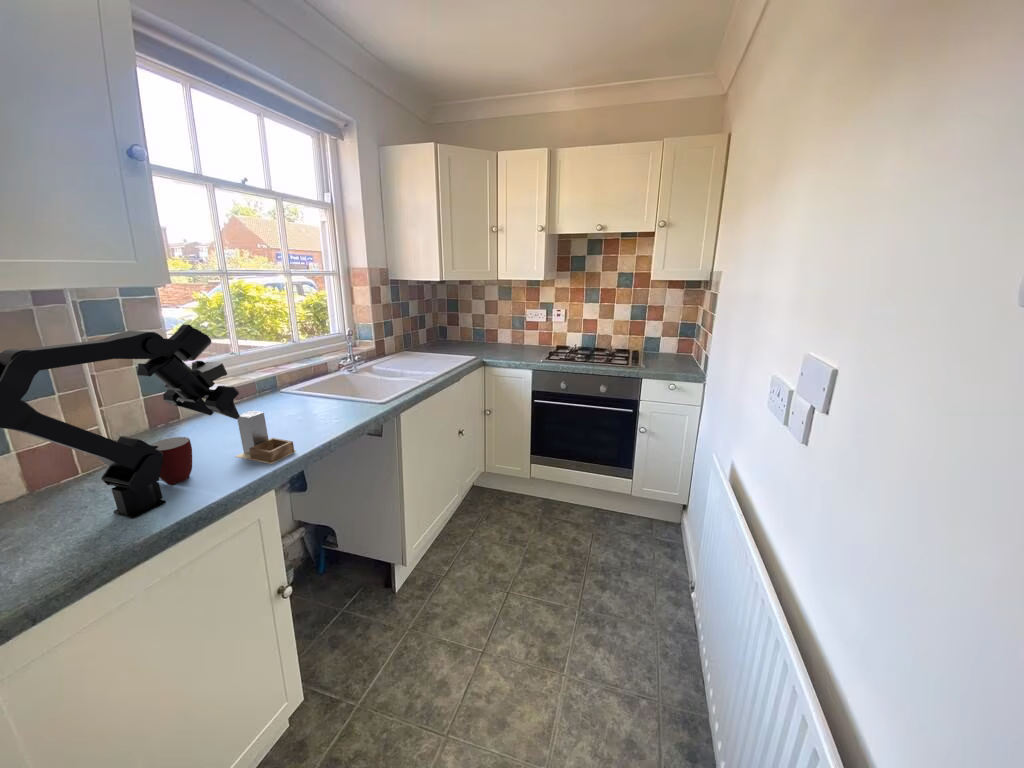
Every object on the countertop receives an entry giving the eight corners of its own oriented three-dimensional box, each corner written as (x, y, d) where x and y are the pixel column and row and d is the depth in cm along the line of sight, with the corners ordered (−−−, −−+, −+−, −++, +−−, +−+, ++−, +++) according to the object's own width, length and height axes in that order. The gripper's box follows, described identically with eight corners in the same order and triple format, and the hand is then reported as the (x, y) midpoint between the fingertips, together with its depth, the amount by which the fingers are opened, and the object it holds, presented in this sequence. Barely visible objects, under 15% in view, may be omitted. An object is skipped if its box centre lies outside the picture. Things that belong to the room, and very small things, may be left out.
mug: (146, 481, 100) (136, 443, 97) (185, 467, 107) (176, 432, 104) (165, 493, 95) (154, 454, 92) (204, 478, 101) (196, 441, 98)
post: (256, 455, 112) (249, 417, 109) (243, 452, 114) (236, 415, 111) (270, 448, 116) (263, 412, 113) (258, 446, 118) (251, 410, 115)
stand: (271, 465, 108) (269, 453, 107) (235, 458, 112) (232, 446, 111) (297, 452, 115) (295, 440, 114) (262, 446, 119) (260, 434, 118)
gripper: (231, 352, 96) (272, 395, 107) (176, 348, 101) (220, 389, 113) (196, 389, 89) (243, 430, 100) (139, 381, 95) (190, 421, 106)
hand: (224, 415), depth 105 cm, fingers open, 9 cm apart
